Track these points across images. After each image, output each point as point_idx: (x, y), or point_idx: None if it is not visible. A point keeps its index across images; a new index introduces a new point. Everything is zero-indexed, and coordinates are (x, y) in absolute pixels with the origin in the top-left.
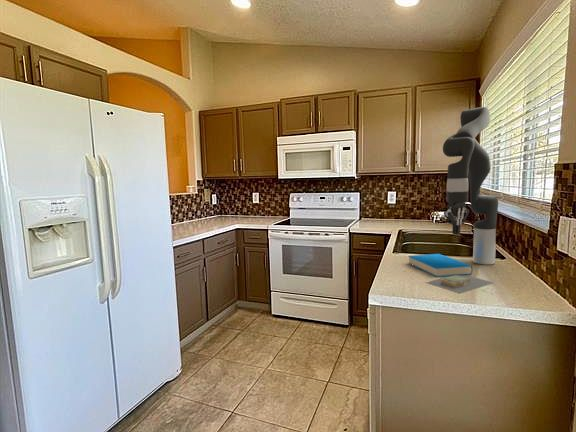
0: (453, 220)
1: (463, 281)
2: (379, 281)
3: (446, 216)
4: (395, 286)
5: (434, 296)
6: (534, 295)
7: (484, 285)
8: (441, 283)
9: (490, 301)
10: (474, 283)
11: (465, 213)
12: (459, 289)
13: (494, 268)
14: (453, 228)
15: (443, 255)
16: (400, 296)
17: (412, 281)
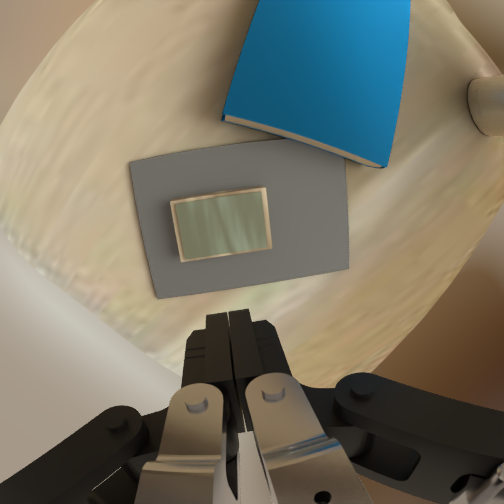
0: (118, 499)
1: (232, 253)
2: (27, 88)
3: (13, 501)
4: (34, 149)
5: (84, 273)
6: (339, 362)
7: (297, 276)
8: (172, 199)
9: None
10: (286, 248)
11: (450, 499)
12: (186, 272)
13: (467, 160)
14: (186, 376)
15: (409, 12)
16: (10, 233)
17: (111, 118)
